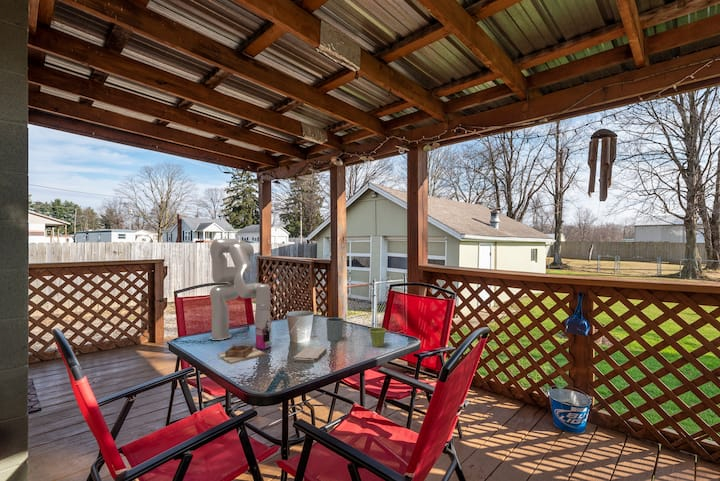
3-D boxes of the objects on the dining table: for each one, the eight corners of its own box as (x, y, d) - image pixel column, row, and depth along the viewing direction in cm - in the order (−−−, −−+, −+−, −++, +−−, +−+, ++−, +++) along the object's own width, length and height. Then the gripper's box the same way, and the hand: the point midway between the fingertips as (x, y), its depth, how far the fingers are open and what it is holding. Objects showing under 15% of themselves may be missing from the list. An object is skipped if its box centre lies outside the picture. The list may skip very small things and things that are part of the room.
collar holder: (217, 356, 170) (217, 348, 170) (251, 348, 183) (250, 340, 183) (230, 364, 159) (230, 355, 159) (265, 355, 171) (265, 347, 171)
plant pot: (380, 349, 179) (380, 332, 179) (365, 346, 185) (365, 330, 185) (389, 345, 187) (389, 329, 187) (375, 342, 192) (375, 326, 193)
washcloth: (291, 363, 161) (291, 356, 161) (305, 351, 178) (305, 345, 178) (315, 364, 158) (315, 358, 158) (327, 352, 176) (327, 346, 176)
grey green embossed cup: (324, 338, 201) (323, 318, 201) (339, 336, 205) (339, 316, 205) (329, 342, 192) (329, 321, 192) (346, 340, 196) (346, 319, 196)
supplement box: (263, 345, 187) (263, 325, 187) (271, 347, 184) (271, 326, 184) (255, 348, 182) (255, 327, 182) (262, 350, 179) (262, 328, 179)
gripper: (249, 306, 187) (249, 338, 187) (264, 310, 175) (264, 345, 174) (261, 304, 192) (261, 335, 192) (277, 308, 180) (277, 342, 180)
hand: (263, 339), depth 183 cm, fingers closed on supplement box, 6 cm apart
